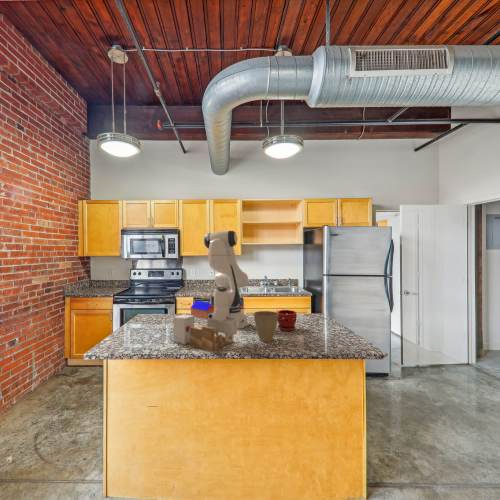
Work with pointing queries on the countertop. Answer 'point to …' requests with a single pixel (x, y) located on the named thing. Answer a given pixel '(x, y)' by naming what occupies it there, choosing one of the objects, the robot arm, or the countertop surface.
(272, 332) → the plant pot
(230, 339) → the rail
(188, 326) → the supplement box
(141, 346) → the countertop surface
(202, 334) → the wood grain block
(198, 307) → the house
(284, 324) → the plant pot
